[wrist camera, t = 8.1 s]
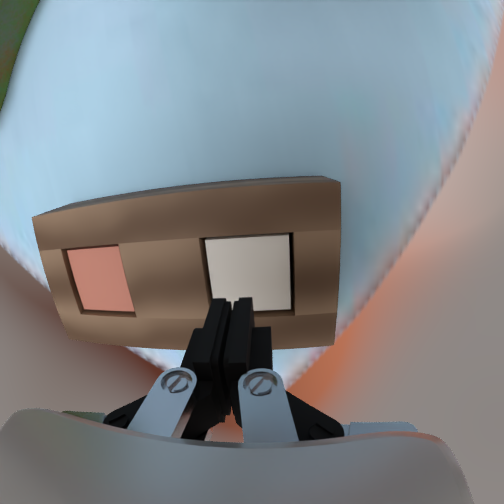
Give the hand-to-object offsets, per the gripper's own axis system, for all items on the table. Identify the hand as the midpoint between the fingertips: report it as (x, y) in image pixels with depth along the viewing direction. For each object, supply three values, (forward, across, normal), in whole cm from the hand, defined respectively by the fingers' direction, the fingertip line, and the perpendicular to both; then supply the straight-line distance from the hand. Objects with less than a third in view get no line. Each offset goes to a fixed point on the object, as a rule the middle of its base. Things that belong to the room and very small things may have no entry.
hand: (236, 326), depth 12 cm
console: (+13, +6, +1) cm, 14 cm away
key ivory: (+12, 0, +1) cm, 12 cm away
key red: (+12, +12, +1) cm, 17 cm away
